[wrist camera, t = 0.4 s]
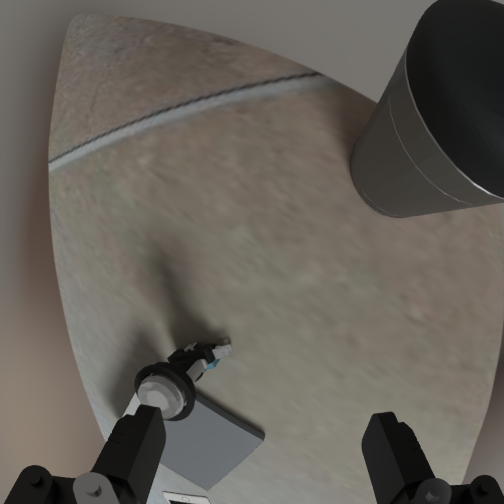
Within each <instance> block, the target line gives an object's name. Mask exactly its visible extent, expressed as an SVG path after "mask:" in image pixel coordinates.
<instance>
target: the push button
mask: <svg viewBox="0 0 504 504" xmlns="http://www.w3.org/2000/svg"><path fill="white" fill-rule="evenodd" d="M196 344H197V342H196V343H193V344H190V345H188V346H187V347H186V348H185V349H179V350H176V351H175V352H174V353H173V354H172V355H171V356H169V357H168V358H167V359H168V361H169V363H168V362H158V363H156V364H155V365H149V366H147V367H145V368H143V369H142V370H141V371H140V372H139V373H138V374H137V376H136V378H135V391H136V394H137V397H138V399H139V401H140V403H141V404H144V405H149V406H155V407H160V409H161V412H162V417H163V420H167V421H180V420H183V419H185V418H187V417H188V416H189V415H190V413H191V412H192V410H193V408H194V405H195V400H196V397H197V395H196V392H195V388H194V384H193V383H194V382H196V381H198V380H199V379H200V378H201V376H202V375H203V374H204V373H205V371H206V370H207V369H212V368H214V367H215V366H216V364H217V363H218V362H219V360H220V359H221V357H223V356H227V355H230V352H231V351H232V347H231V345H230V344H228V345H224V346H221V347H220V345H219V346H215V344H206V345H204V346H202V347H200V348H196V349H194V346H195V345H196ZM191 345H192V346H191ZM225 347H226V348H225ZM227 347H228V348H229V349H228V348H227ZM224 353H226V354H224ZM150 373H154V374H153V375H152V376H149V375H150ZM185 402H186V405H185V406H183V404H184V403H185Z"/></svg>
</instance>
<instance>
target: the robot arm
mask: <svg viewBox="0 0 504 504" xmlns="http://www.w3.org/2000/svg"><path fill="white" fill-rule="evenodd" d="M350 167H351V176H352V179H353V182H354V186H355V187H356V189H357V191H358V193H359V195H360V196H361V197H362V199H363V200H364V201H365V202H366V203H367V204H368V205H369V206H370V207H371V208H372V209H374V210H375V211H377V212H379V213H381V214H383V215H386V216H389V217H394V218H405V217H412V216H420V215H426V214H433V213H439V212H446V211H452V210H459V209H465V208H472V207H479V206H485V205H491V204H497V203H504V5H503V4H501V3H497V2H494V1H491V0H438V1H436V2H435V3H433V4H432V5H431V6H430V7H429V8H428V9H427V10H426V11H425V13H424V14H423V15H422V17H421V19H420V20H419V22H418V24H417V26H416V28H415V30H414V32H413V34H412V37H411V39H410V41H409V43H408V45H407V47H406V49H405V51H404V53H403V55H402V57H401V59H400V61H399V63H398V65H397V67H396V69H395V72H394V74H393V76H392V77H391V79H390V81H389V83H388V85H387V87H386V89H385V91H384V93H383V95H382V97H381V99H380V101H379V102H378V104H377V106H376V108H375V110H374V112H373V114H372V116H371V117H370V119H369V121H368V123H367V125H366V127H365V129H364V130H363V132H362V134H361V136H360V138H359V139H358V141H357V143H356V145H355V147H354V149H353V152H352V155H351V164H350ZM165 443H166V430H165V426H164V421H163V417H162V412H161V409H160V407H155V406H149V405H144V404H140V405H139V406H138V408H137V410H136V412H135V414H134V415H130V414H126V415H125V416H123V417H122V418H121V419H120V420H118V421H117V423H116V425H115V427H114V428H113V430H112V433H111V434H110V436H109V438H108V441H107V442H106V444H105V445H104V447H103V449H102V451H101V453H100V455H99V457H98V459H97V461H96V463H95V465H94V467H93V469H92V470H91V471H90V472H89V473H85V474H82V475H80V476H78V477H77V478H65V477H58V476H52V475H51V474H50V473H49V471H48V470H46V469H45V468H44V467H41V466H38V465H32V466H28V467H26V468H25V469H24V470H22V472H21V474H20V475H19V477H18V479H17V481H16V482H15V484H14V486H13V488H12V490H11V491H10V493H9V495H8V497H7V499H6V501H5V503H4V504H146V502H147V499H148V496H149V493H150V489H151V486H152V483H153V480H154V477H155V474H156V471H157V468H158V465H159V462H160V459H161V456H162V453H163V450H164V447H165ZM362 452H363V456H364V459H365V462H366V466H367V469H368V472H369V476H370V479H371V483H372V486H373V490H374V493H375V497H376V501H377V504H504V496H503V493H502V491H501V489H500V487H499V485H498V483H497V481H496V480H495V479H494V478H493V477H491V476H488V475H481V476H478V477H476V478H475V479H474V480H473V481H472V482H471V483H470V484H466V485H449V484H448V483H447V482H446V481H444V480H442V479H439V478H436V477H435V476H434V474H433V472H432V470H431V467H430V465H429V463H428V461H427V459H426V457H425V455H424V453H423V450H422V449H421V446H420V444H419V442H418V441H417V438H416V436H415V434H414V432H413V430H412V429H411V428H410V427H409V426H408V425H407V424H405V423H404V422H400V423H398V421H397V418H396V416H395V414H394V413H393V412H384V413H376V414H373V415H372V417H371V419H370V422H369V424H368V427H367V429H366V431H365V434H364V436H363V439H362Z"/></svg>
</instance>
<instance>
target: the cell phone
mask: <svg viewBox="0 0 504 504" xmlns="http://www.w3.org/2000/svg"><path fill="white" fill-rule="evenodd" d="M163 495H164V496H165V498H166V499H167V501H168V503H169V504H211V503H210V501H209V499H208V498H207V497H202V496H193V495H185V494H178V493H171V492H163Z"/></svg>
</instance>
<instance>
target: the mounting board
mask: <svg viewBox="0 0 504 504" xmlns="http://www.w3.org/2000/svg"><path fill="white" fill-rule="evenodd" d="M196 395H197V397H196V400H195V405H194V408H193V410H192V412H191V413H190V415H189V416H188V417H187V418H185V419H183V420H180V421H167V420H163V421H164V426H165V430H166V443H165V447H164V450H163V453H162V456H161V459H160V463H161V464H163V465H164V466H166V467H167V468H169V469H170V470H172V471H174V472H175V473H177V474H179V475H180V476H182V477H184V478H185V479H187V480H189V481H190V482H192V483H194V484H196V485H198V486H199V487H201V488H203V489H205V490H207V491H208V490H209V489H211V488H212V487H213V486H214V485H215V484H217V483H218V482H219V481H220V480H221V479H223V478H224V477H225V476H226V475H227V474H228V473H230V472H231V471H232V470H233V469H234V468H235V467H236V466H237V465H239V464H240V463H241V462H242V461H243V460H244V459H245V458H246V457H247V456H248V455H250V454H251V453H252V452H253V451H254V450H255V449H256V448H257V447H258V446H259V445H260V444H261V443H262V442H263V441H264V438H265V434H263V433H261V432H259V431H258V430H256V429H254V428H252V427H250V426H249V425H247V424H245V423H244V422H242V421H240V420H238V419H237V418H235V417H233V416H232V415H230V414H228V413H227V412H225V411H224V410H222V409H220V408H219V407H217V406H216V405H214V404H213V403H211V402H209V401H208V400H206V399H205V398H203V397H202V396H200V395H199V394H197V393H196ZM140 404H141V403H140V401H139V399H138V397H137V394H136V392H135V394H134V396H133V398H132V400H131V402H130V404H129V405H128V407H127V409H126V411H125V413H124V415H123V416H125V415H126V414H130V415H134V414H135V412H136V410H137V408H138V406H139V405H140ZM185 405H186V402H185V403H184V404H183V406H185Z"/></svg>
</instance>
